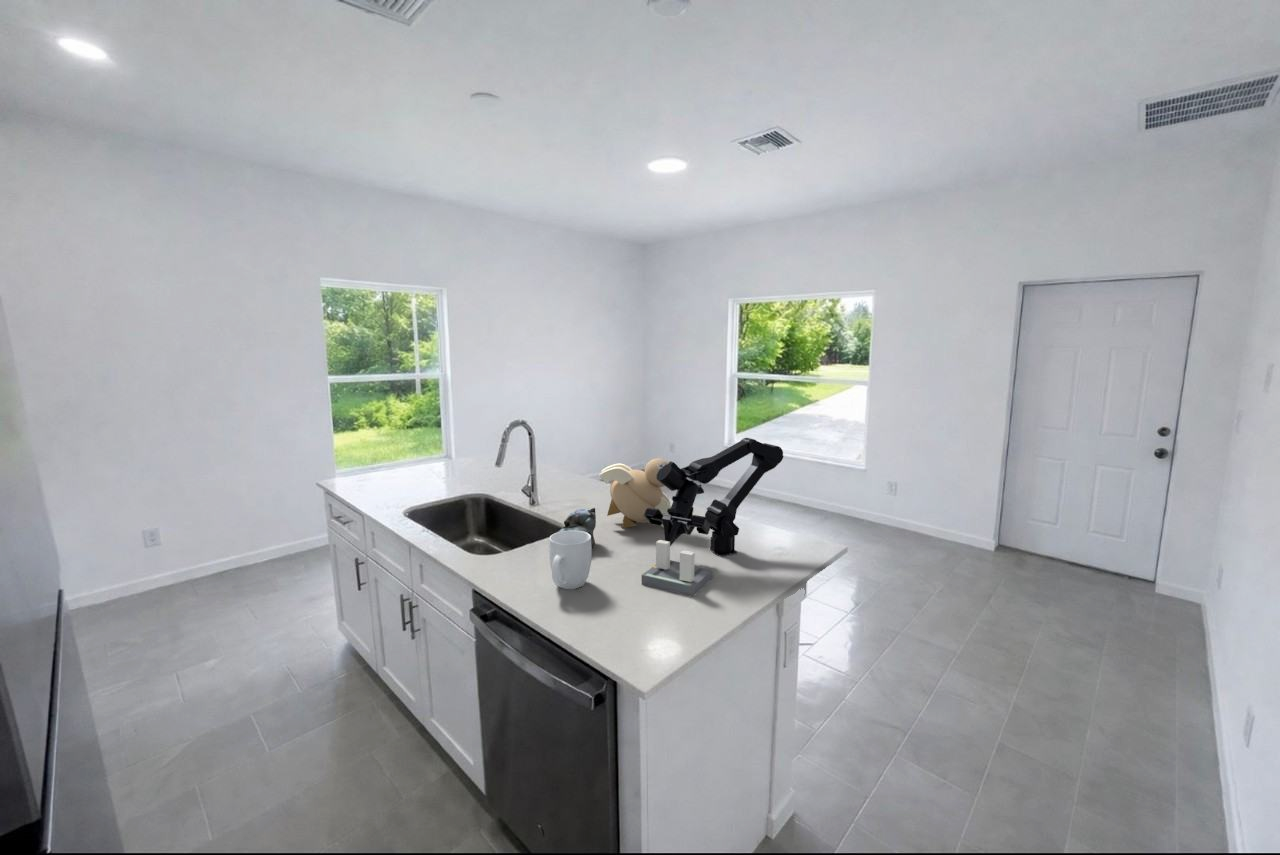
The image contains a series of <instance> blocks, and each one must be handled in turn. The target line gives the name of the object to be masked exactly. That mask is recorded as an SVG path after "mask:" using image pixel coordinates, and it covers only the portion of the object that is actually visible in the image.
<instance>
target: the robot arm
mask: <svg viewBox="0 0 1280 855" xmlns="http://www.w3.org/2000/svg"><path fill="white" fill-rule="evenodd" d="M750 454H753V455H752V458H751V459H752V460H751V463H750V465H749V466H748V468H747V469H746V470H745V471H744V473H743V474H742V475H741V476H740V478H739V479H738V480H737V482H736V483H735V484H734V485H733V486H732V488H731V489H730V491H728V493H726V496H725V497H724V498H722V499H721V500H718V499H716V498H714V500H712V502H711V504H710V505H709V506H708V507H706V512H705V514H704V515H703V516H702V515H695V514H693V513H694V507H693V506H694V503H695V500H696V498H697V495H701V494H705V490H704V488H703V487H702V484H703V485H706V484H709V483H710V482H711V481H712V480H714V479H715V478H716V477H717V476H719V473H720V472H721V471H722V470H723V469H725V468H726V467H728V466H730V465H732V464H733V463H735V462H737V461H739V460H741V459H742V458H744V457H746V456H748V455H750ZM783 459H784V450H783V448H782V447H780V446H778V445H774V444H770V443H767V442H764V443H762V442H760V441H758V440H757V439H754V438H750V437H743V438H742V439H741V440H740V441H738V442H736V443H735V444H732V445H731V446H729V447H727V448H725V449H723V450H722V451H720V452H717V453H716V454H715V455H712V456H710V457H704V458H700V459H697V460H694V461H692V462H690V463H689V465H686V466H685V467H682V468H680V467H679V466H678V465H677V464H676V463H675V462H674V461H671V460H670V461H669V463H668V464H667V465H665V466H663V467H662V468H661V469H660V470H659V471H658V473H657V480H658V481H659V482H661V483H662V484H663V485H665V486H664V487H666V488H667V489H668V490H670V491H671V492H674V491H676V492H675V495H673V496H672V497H671V500H672V503H671V505H670V506H671V508H670V509H669V508H668V510H667V512H668V514H662V513H661V511H660V510H659V509H655V508H647V509H646V510H645V513H644V516H645V518H646V519H647V520H648V522H647V523H648V524H650V525H652V526H658V527H660V526H661V525H662V524H663V526H664V528H663V530H664V533H663V534H664V541H668V542H670V547H672V545H673V544H674V543H675V542H676V541H677V539H678V538H680V537H681V535H684V534H685V535H689V536H691V535H692V533H693V532H694V530H695V528H696V531H697V533H698V534H702V535H706V536H707V535H709V533H710V531H711V530H712V531H711V536H710V547H709V548H710V549H711V550H712V552H713V551H714V552H715V553H714V552H713V553H714V554H715V555H717V554H718V555H722V556H727V555H726V554H728V555H734V554H733V553H735V554H738V551H737V550H736V549H735V548H736V547H735V546H736V543H735V542H736V539H735V538H736V536H738V534H739V531H740V528H739V526H737V524H736V523H734V521H735V519H736V515H737V509H738V508H739V507H740V505H741V504H742V503H743V501H744V500H745V499H746V498H747V496H748V495H749V494H750V492H751V491H752V490H753V489H754V487H755V486H756V485H757V483H758V482H759V481H760V480H761V478H762V477H763V476H764V475H765V473H766V474H767V473H768V472H769V471H771V470H773V469H775V468H777V466H778V465H779V464H780V463H781V462H782V461H783ZM696 482H698V483H701V484H697V483H696ZM710 549H709V550H710ZM711 550H710V551H711ZM718 555H717V556H718Z"/></svg>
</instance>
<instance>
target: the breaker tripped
mask: <svg viewBox="0 0 1280 855" xmlns="http://www.w3.org/2000/svg"><path fill="white" fill-rule="evenodd" d="M670 560H671V546H670V542H668V541H665V540H663V539H659V540H657V541H656V542H655V565H656V568H661V569H665V570H667V569H668V568H670Z"/></svg>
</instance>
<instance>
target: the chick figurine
mask: <svg viewBox="0 0 1280 855" xmlns="http://www.w3.org/2000/svg"><path fill="white" fill-rule="evenodd" d="M669 462H670V461H669ZM669 462H668V460H666V459H664V458H659V457H658V458H653V459H651V460H649V461H648V462H647V464H646V465H645V468H644V471H643V470H641V469H632V468H631V467H630V466H628V465H626V464H624V463H620V462H619V463H614V464H611V465H608V466H606V467H605V468H603V469H601V472H600V473H599V474H598V477H599V478H600V479H601V480H602V481H604V483H605V484H608V483H610V482H611V483H610V486H609V495H610V497H611V500H610V502H609V507H608V510H607V511H608V512H607V517H608V516H612V515H616V514H620V513H621V514H622V515H623V518H622V524H621V529H625V528H629V527H634V526H637V523H641V524H643V523H649V522H648V520H647V519H646V518H645V516H644V513H645V510H646V509H647V508H655V509H659V510H660V511H661V513H662V514H668V512H667V510H668V508H669V509H670V508H671V506H672V505H671V501H670V499H669V497H668V495H666V493H664V492H663V490H662V487H666V486H665V485H663V484H662V483H661V482H659V481H658V480H657V473H658V471H659V470H660V469H661V468H662V467H663V466H665V465H667V464H668V463H669ZM660 526H661V527H662V529H664V526H663V524H662V525H660Z"/></svg>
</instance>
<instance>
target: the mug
mask: <svg viewBox="0 0 1280 855" xmlns="http://www.w3.org/2000/svg"><path fill="white" fill-rule="evenodd" d="M548 540H549V542H548V543H549V544H548V548H549V550H548V552H549V563H550V564H549V565H550V570H551V578H552V581H553V583H554V585H556V586H557V587H559V588H561V589H563V588H564V589H563V590H576V588H577V589H580V588H581V586H582V587H583V586H584V585H585V583H586V581H587V580H588V578H589V574H590V571H591V565H592V556H593V555H592V554H593V552H592V551H593V550H592V549H593V548H592V545H591V535H590V534H589V533H587V532H584V531H576V530H569V531H561V532H559V531H557V532H555V533H553V534H551V535H550V536H549V539H548ZM579 587H580V588H579Z"/></svg>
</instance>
